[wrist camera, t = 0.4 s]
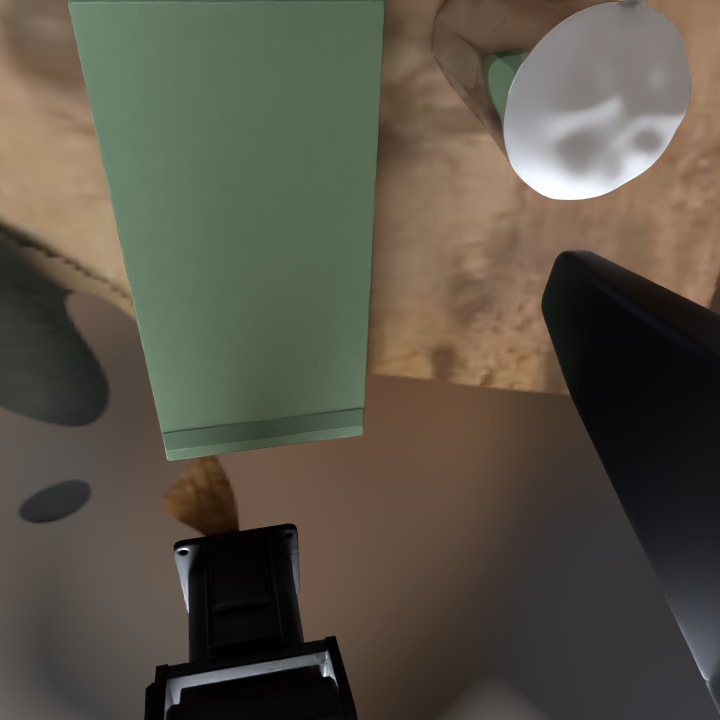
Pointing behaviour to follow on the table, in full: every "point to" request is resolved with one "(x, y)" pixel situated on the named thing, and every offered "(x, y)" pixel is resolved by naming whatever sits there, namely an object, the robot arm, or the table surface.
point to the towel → (242, 206)
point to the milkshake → (567, 86)
